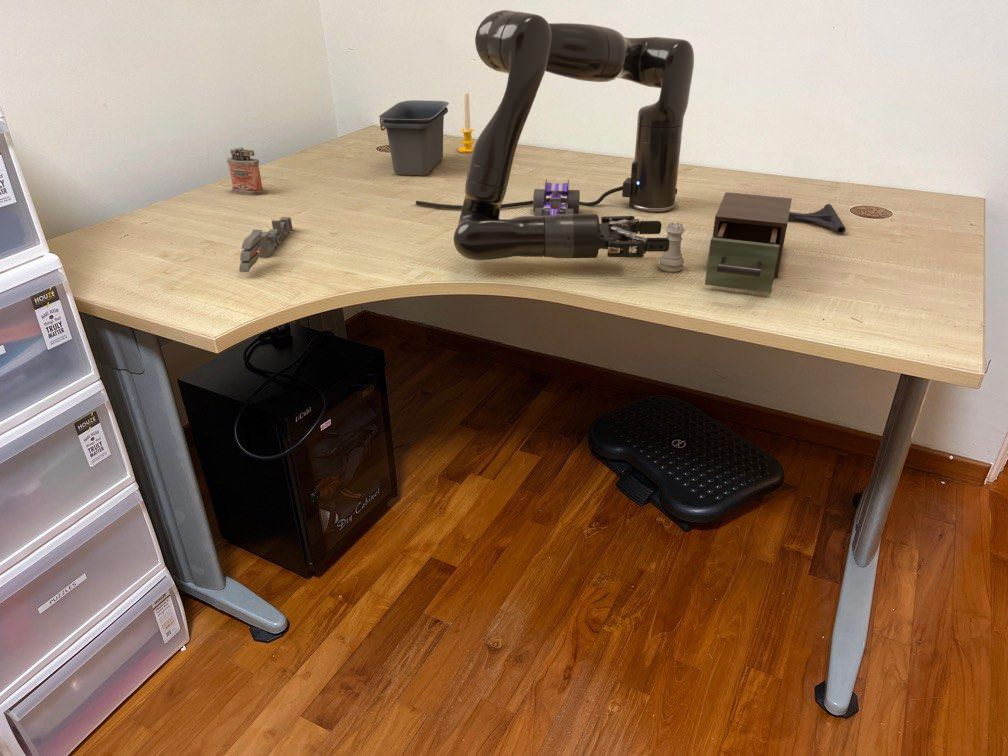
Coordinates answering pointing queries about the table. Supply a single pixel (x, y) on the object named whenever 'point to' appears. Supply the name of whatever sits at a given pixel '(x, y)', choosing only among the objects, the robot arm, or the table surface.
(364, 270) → the table surface
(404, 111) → the storage bin
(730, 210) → the cabinet
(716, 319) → the table surface
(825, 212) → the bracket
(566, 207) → the toy race car
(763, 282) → the drawer
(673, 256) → the rook chess piece
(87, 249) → the table surface
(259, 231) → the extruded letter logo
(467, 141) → the candle
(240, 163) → the lighter
